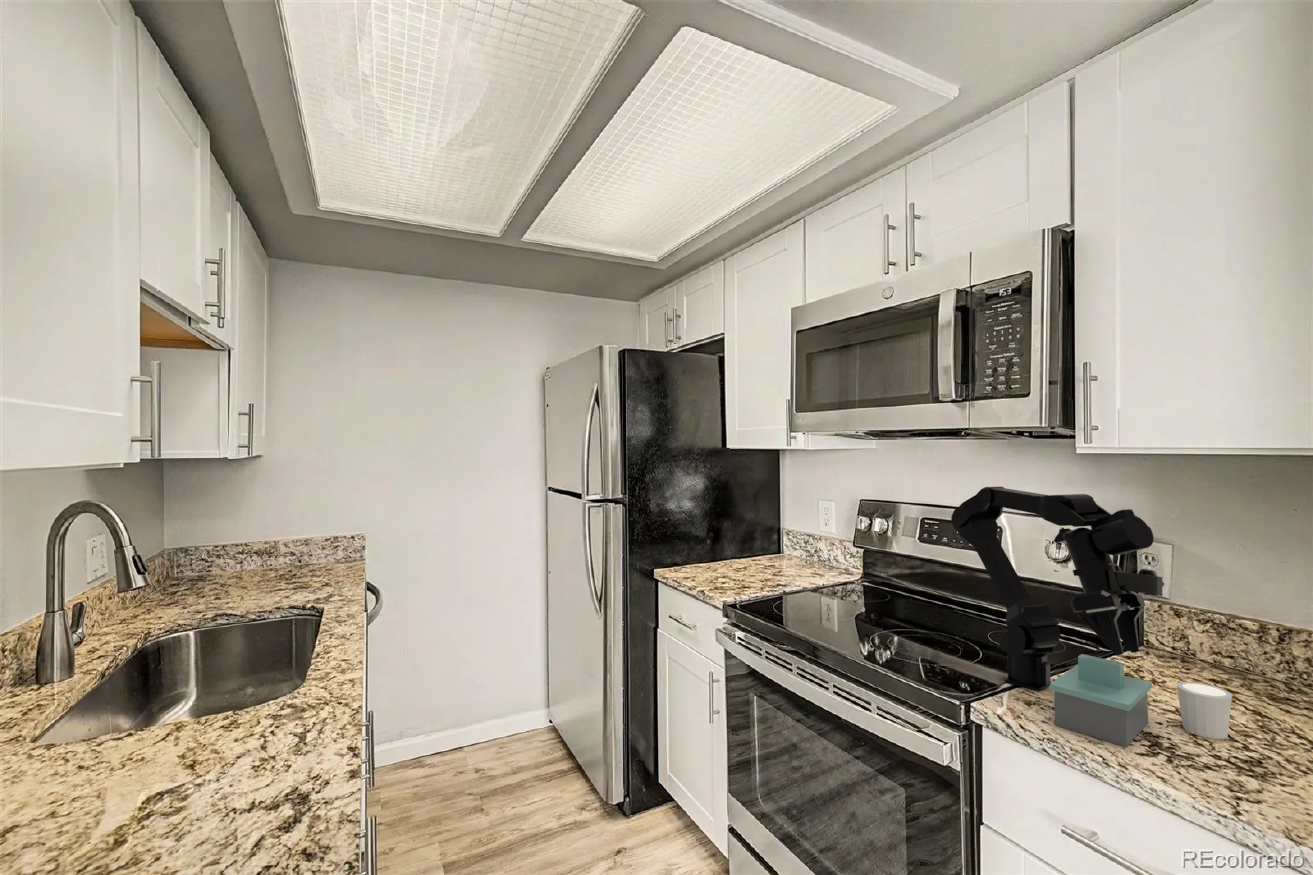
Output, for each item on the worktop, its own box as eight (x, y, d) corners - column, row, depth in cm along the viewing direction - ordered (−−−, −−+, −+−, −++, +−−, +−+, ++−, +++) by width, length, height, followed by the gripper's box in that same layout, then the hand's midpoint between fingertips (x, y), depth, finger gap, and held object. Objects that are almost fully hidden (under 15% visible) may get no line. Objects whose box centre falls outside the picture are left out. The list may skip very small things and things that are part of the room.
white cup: (1216, 724, 104) (1215, 683, 104) (1243, 743, 97) (1242, 699, 97) (1169, 719, 105) (1168, 679, 105) (1192, 738, 99) (1191, 695, 99)
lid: (1050, 695, 104) (1049, 660, 104) (1077, 675, 113) (1076, 643, 113) (1129, 717, 95) (1128, 679, 95) (1151, 693, 104) (1151, 659, 104)
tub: (1054, 725, 104) (1054, 689, 104) (1079, 703, 112) (1079, 671, 112) (1126, 747, 96) (1126, 709, 96) (1148, 722, 104) (1147, 687, 104)
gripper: (1129, 548, 97) (1171, 650, 91) (1160, 554, 108) (1199, 645, 102) (1054, 563, 105) (1088, 658, 99) (1090, 567, 116) (1123, 653, 110)
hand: (1127, 653), depth 102 cm, fingers open, 9 cm apart
